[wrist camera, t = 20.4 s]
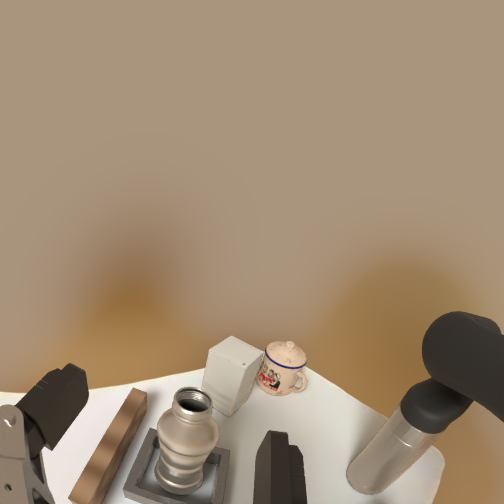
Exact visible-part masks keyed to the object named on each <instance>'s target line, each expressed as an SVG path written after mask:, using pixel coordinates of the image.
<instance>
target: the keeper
mask: <svg viewBox="0 0 504 504" xmlns="http://www.w3.org/2000/svg"><path fill="white" fill-rule="evenodd" d="M155 447H157V448H159V449H160V443H159V438H158V432H157V430H155V429H152V428H150V429H149V431H148V433H147V435H146V437H145V440H144V442H143V444H142V446H141V449H140V451H139V453H138V455H137V457H136V460H135V462H134V464H133V466H132V469H131V471H130V473H129V476H128V478H127V480H126V482H125V485H124V487H123V492H124V495H125V497H126V498H129V499H131V500H134V501H136V502H139V503H142V504H189V503H185V502H181V501H178V500H174V499H171V498H167V497H164V496H161V495H158V494H155V493H152V492H149V491H146V490H143V489H141V488H139V485H140V483H141V480H142V478H143V475H144V473H145V470H146V468H147V465H148V463H149V460H150V458H151V455H152V453H153V450H154V448H155ZM229 456H230V450H226V449H222V448H217V447H214V448H213V450H212V451H211V452H210V454H209V455H208V456H207V458H206V460H205V462H208V463H213V464H217V470H216V475H215V481H214V486H213V492H212V497H211V503H210V504H223V497H224V491H225V484H226V477H227V470H228V463H229Z"/></svg>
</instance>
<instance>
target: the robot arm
mask: <svg viewBox="0 0 504 504" xmlns="http://www.w3.org/2000/svg"><path fill="white" fill-rule="evenodd" d="M422 357H423V362H424V365H425V367H426V369H427V371H428V373H429V374H430V375H431V378H430V379H428V380H425V381H423V382H420V383H418V384H416V385H414V386H412V387H411V388H410V389H409V391H408V392H407V393H406V395H405V396H404V398H403V399H402V401H401V402H400V404H399V405H398V406H397V408H396V409H395V411H394V412H393V413H392V415H391V416H390V418H389V419H388V420H387V422H386V423H385V424H384V425H383V427H382V428H381V429H380V430H379V432H378V433H377V434H376V435H375V437H374V438H373V439H372V440H371V441H370V443H369V444H368V445H367V446H366V447H365V448H364V450H363V451H362V452H361V453H360V454H359V455H358V456H357V457H356V458H355V459H354V460H353V462H352V463H351V464H350V465H349V466H348V469H347V479H348V482H349V483H350V485H351V486H352V487H353V488H354V489H355V490H357V491H358V492H361V493H363V494H368V495H373V494H378V493H380V492H382V491H383V490H385V489H386V488H387V487H388V486H389V485H391V484H392V483H393V482H394V481H395V480H396V479H398V478H399V477H400V476H401V475H402V474H403V473H404V472H405V471H406V470H407V469H409V468H410V467H411V466H412V465H413V464H414V463H415V462H416V461H417V460H418V459H419V458H420V457H421V456H422V455H423V454H424V453H425V452H426V450H427V449H428V448H429V447H430V446H431V445H432V444H433V443H434V442H435V441H436V439H437V438H438V437H439V436H440V435H441V434H442V432H443V431H444V430H445V429H446V428H447V427H448V425H449V424H450V423H451V422H453V421H454V420H455V419H457V418H458V417H460V416H461V415H462V414H463V413H464V412H465V411H466V410H467V408H468V407H469V406H470V405H471V403H472V402H473V401H476V402H478V403H479V404H481V405H482V406H484V407H485V408H486V409H488V410H489V411H490V412H492V413H493V414H494V415H495V416H497V417H498V418H499V419H500V420H501V421H503V422H504V335H502V334H501V331H500V329H499V327H498V325H497V324H496V323H495V322H494V321H492V320H491V319H488V318H485V317H481V316H478V315H474V314H470V313H466V312H459V311H457V312H450V313H447V314H444V315H442V316H440V317H439V318H438V319H436V320H435V321H434V322H433V323H432V324H431V325H430V327H429V328H428V330H427V331H426V333H425V336H424V339H423V343H422ZM88 397H89V391H88V386H87V378H86V373H85V371H84V370H83V369H81V368H79V367H77V366H75V365H73V364H71V363H69V364H67V365H66V366H65V367H64V368H63V369H62V370H60V369H58V368H57V369H55V370H53V371H50V372H49V373H47V374H46V375H45V376H44V377H43V378H42V380H40V381H39V382H38V383H37V384H36V386H34V387H33V388H32V389H31V390H30V391H29V392H28V393H27V394H26V395H25V396H24V397H23V398H22V399H21V400H20V401H19V402H18V403H17V404H16V405H14V406H13V405H3V406H1V407H0V504H55V502H54V499H53V496H52V494H51V492H50V490H49V488H48V484H47V479H46V475H45V469H44V463H43V457H42V451H41V450H42V448H43V447H44V446H45V447H47V448H48V449H50V450H51V451H52V450H53V449H54V448H55V446H56V445H57V443H58V442H59V441H60V439H61V438H62V436H63V435H64V434H65V432H66V431H67V429H68V428H69V427H70V425H71V424H72V423H73V421H74V420H75V418H76V417H77V416H78V414H79V413H80V412H81V410H82V409H83V408H84V406H85V405H86V403H87V401H88ZM303 466H304V463H303V455H302V453H301V452H300V450H299V448H298V447H297V446H295V445H289V442H288V434H287V433H285V432H278V431H271V430H269V431H268V432H267V434H266V436H265V438H264V440H263V441H262V443H261V445H260V447H259V449H258V452H257V455H256V462H255V480H254V497H253V504H307V495H306V484H305V476H304V474H305V473H304V468H303Z"/></svg>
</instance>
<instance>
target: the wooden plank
mask: <svg viewBox="0 0 504 504" xmlns="http://www.w3.org/2000/svg"><path fill="white" fill-rule="evenodd" d="M146 404H147V393H146V392H143V391H141V390H138V389H135V388H132V390H131V392H130V393H129V395H128V397H127V398H126V400H125V401H124V403H123V405H122V406H121V408H120V410H119V411H118V413H117V414H116V416H115V418H114V419H113V421H112V423H111V424H110V426H109V428H108V429H107V431H106V433H105V434H104V436H103V438H102V439H101V441H100V443H99V444H98V446H97V448H96V450H95V451H94V453H93V455H92V456H91V458H90V460H89V462H88V463H87V465H86V467H85V468H84V470H83V472H82V474H81V475H80V477H79V479H78V481H77V483H76V484H75V486H74V488H73V490H72V491H71V493H70V495H69V497H68V499H69V500H70V501H71V502H72V503H73V504H101V503H102V501H103V499H104V497H105V495H106V492H107V490H108V488H109V486H110V484H111V482H112V480H113V478H114V476H115V474H116V471H117V469H118V467H119V465H120V463H121V461H122V459H123V457H124V455H125V453H126V451H127V449H128V447H129V445H130V443H131V441H132V439H133V437H134V435H135V433H136V431H137V429H138V427H139V425H140V423H141V421H142V419H143V417H144V415H145V413H146Z"/></svg>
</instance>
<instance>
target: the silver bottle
mask: <svg viewBox="0 0 504 504" xmlns="http://www.w3.org/2000/svg"><path fill="white" fill-rule="evenodd" d="M212 407H213V400H212V398H211V396H210V395H209V394H208V393H207V392H205V391H203V390H201V389H199V388H195V387H184V388H181V389H179V390H178V391H177V392H176V393H175V395H174V401H173V403H172V408H170V409H168V410H167V411H166V412H164V414H163V415H162V416H161V417H160V419H159V421H158V424H157V432H158V438H159V443H160V457H159V460H158V461H157V463H156V466H155V469H154V474H155V477H156V480H157V482H158V484H159V485H160V486H161V487H162V488H163V489H165V490H166V491H168V492H170V493H173V494H178V495H186V494H190V493H192V492H194V491H196V490H197V489H198V488H199V487H200V486H201V484H202V481H203V464H204V462H205V460H206V458H207V456H208V455H209V454H210V452H211V451H212V450H213V448H214V447H215V445H216V443H217V441H218V438H219V432H218V427H217V424H216V422H215V421H214V419H213V418H212V417H211V415H212Z"/></svg>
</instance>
